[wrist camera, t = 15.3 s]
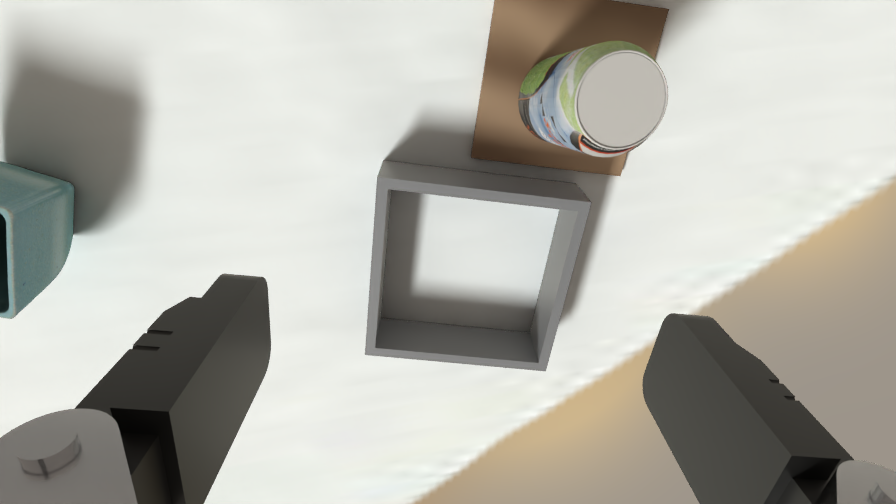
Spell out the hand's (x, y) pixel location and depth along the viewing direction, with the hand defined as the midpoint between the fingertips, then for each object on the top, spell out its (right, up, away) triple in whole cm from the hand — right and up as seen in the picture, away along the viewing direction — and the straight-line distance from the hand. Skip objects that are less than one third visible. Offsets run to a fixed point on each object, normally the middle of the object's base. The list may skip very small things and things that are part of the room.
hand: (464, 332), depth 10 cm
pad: (+8, +14, +26) cm, 31 cm away
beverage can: (+8, +14, +26) cm, 31 cm away
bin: (+1, +1, +32) cm, 32 cm away
